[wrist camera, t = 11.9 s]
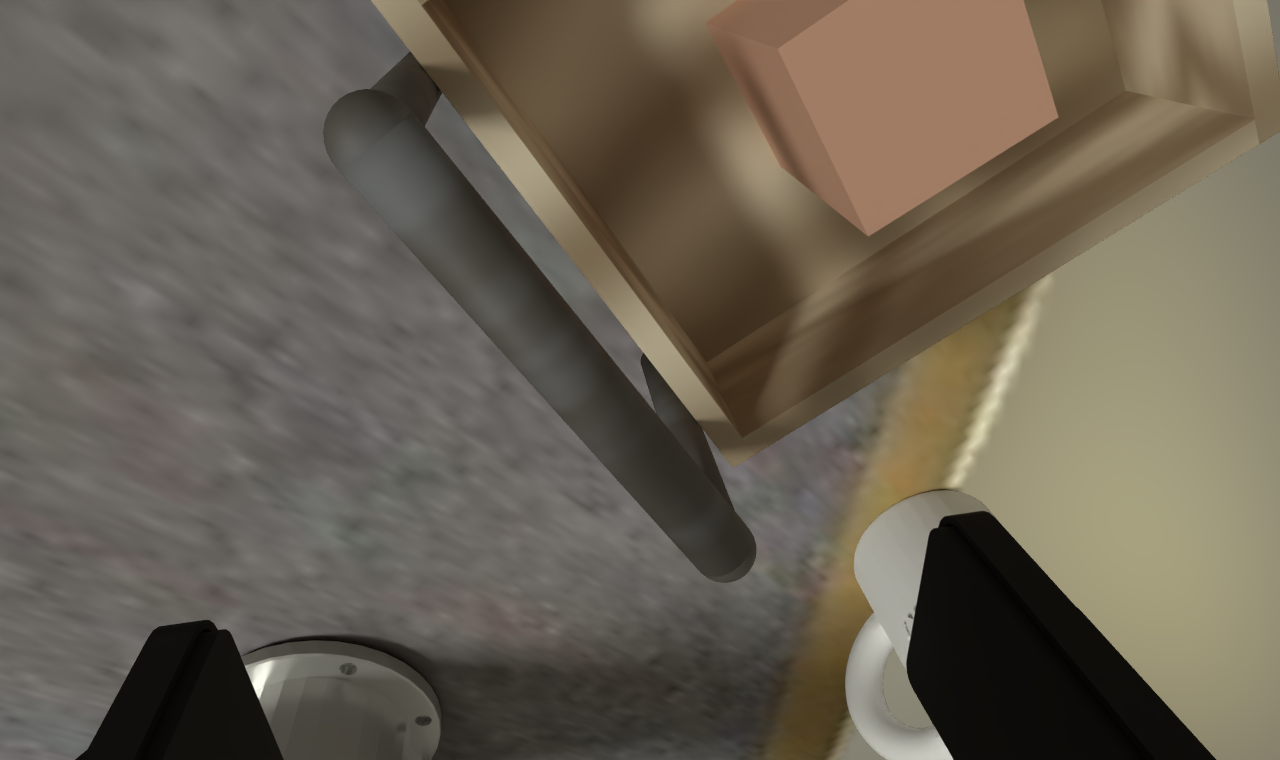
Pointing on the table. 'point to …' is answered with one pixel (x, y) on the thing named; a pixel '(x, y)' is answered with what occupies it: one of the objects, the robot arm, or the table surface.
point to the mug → (894, 618)
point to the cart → (759, 212)
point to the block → (885, 92)
